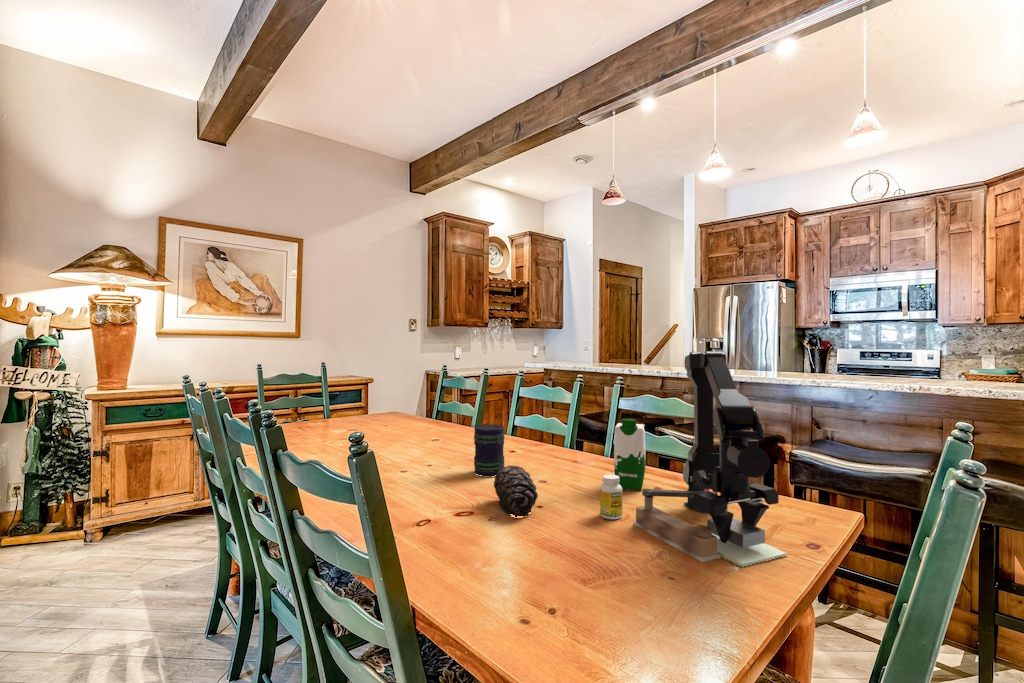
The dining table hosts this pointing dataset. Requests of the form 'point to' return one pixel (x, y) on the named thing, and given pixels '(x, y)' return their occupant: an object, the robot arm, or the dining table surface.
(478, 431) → the storage jar
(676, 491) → the lever
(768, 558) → the mat
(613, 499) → the supplement bottle
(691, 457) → the robot arm
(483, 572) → the dining table surface
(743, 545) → the flat grey slab block
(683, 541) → the body
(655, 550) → the dining table surface
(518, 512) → the pine cone
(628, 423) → the milk carton
